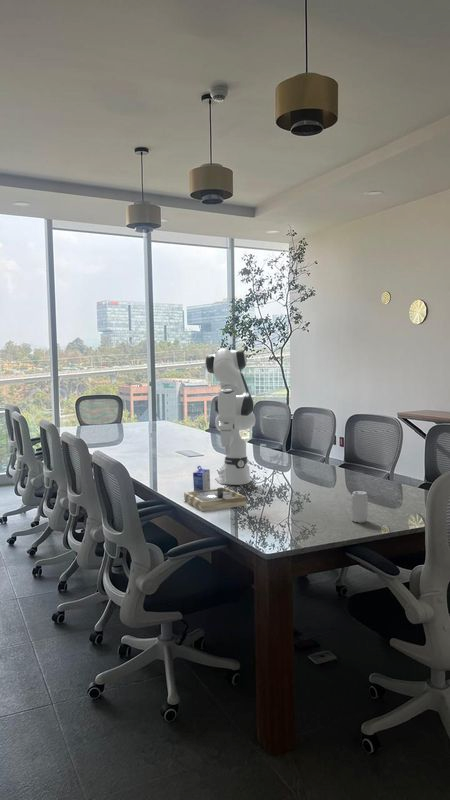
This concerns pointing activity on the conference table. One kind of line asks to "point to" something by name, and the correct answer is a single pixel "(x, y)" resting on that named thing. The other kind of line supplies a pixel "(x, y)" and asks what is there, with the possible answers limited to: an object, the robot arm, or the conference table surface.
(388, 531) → the conference table surface
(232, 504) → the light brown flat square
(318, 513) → the conference table surface
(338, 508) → the conference table surface
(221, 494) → the dial
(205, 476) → the ink cartridge box
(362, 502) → the beverage can
